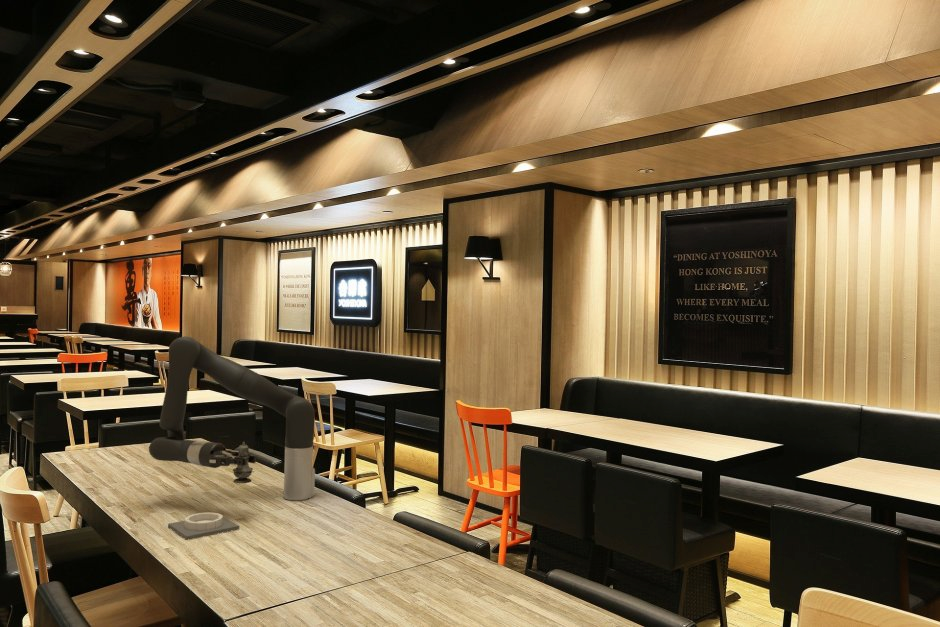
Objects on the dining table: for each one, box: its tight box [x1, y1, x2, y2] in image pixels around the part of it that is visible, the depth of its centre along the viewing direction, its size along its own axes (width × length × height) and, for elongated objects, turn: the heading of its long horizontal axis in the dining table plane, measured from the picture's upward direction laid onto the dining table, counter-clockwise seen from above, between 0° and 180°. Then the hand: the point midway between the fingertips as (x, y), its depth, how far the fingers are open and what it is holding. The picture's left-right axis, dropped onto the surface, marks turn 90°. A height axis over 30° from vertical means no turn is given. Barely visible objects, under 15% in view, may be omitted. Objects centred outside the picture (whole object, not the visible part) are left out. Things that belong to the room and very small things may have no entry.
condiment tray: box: [167, 512, 240, 541], centre depth 196 cm, size 15×14×3 cm
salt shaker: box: [232, 441, 254, 484], centre depth 206 cm, size 6×6×12 cm
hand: (250, 460), depth 205 cm, fingers closed on salt shaker, 3 cm apart
